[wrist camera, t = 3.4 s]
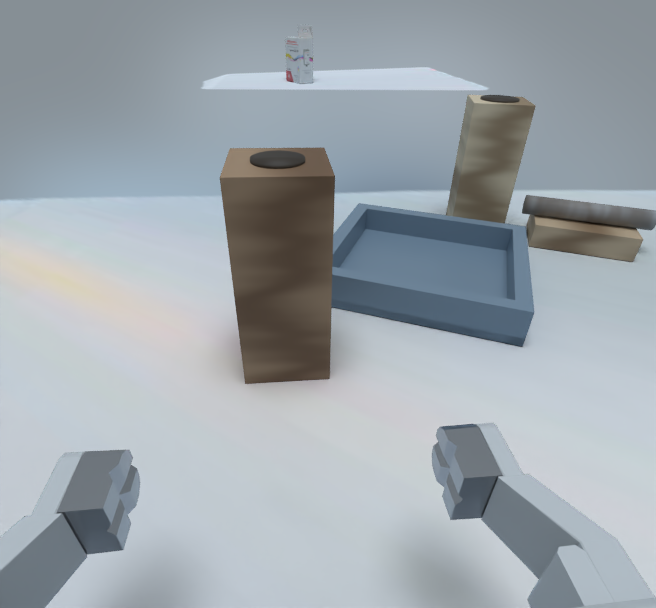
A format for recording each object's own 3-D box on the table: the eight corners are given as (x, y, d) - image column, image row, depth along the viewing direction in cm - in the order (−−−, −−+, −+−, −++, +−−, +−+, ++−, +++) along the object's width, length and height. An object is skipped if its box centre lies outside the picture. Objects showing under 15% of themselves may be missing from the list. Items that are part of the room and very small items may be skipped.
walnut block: (245, 383, 23) (219, 173, 16) (249, 332, 26) (229, 145, 20) (329, 378, 23) (335, 172, 17) (321, 328, 27) (324, 144, 21)
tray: (305, 301, 29) (305, 269, 28) (357, 229, 40) (358, 203, 38) (522, 346, 26) (534, 312, 24) (517, 254, 36) (525, 226, 35)
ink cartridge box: (285, 80, 133) (283, 24, 125) (299, 80, 135) (298, 24, 127) (299, 84, 127) (298, 25, 119) (313, 83, 130) (313, 25, 121)
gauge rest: (516, 244, 37) (528, 205, 35) (515, 223, 41) (526, 186, 39) (646, 263, 35) (666, 222, 33) (632, 239, 39) (649, 201, 37)
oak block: (449, 234, 39) (474, 101, 33) (445, 216, 43) (468, 92, 36) (500, 238, 38) (536, 103, 32) (492, 219, 42) (523, 95, 36)
